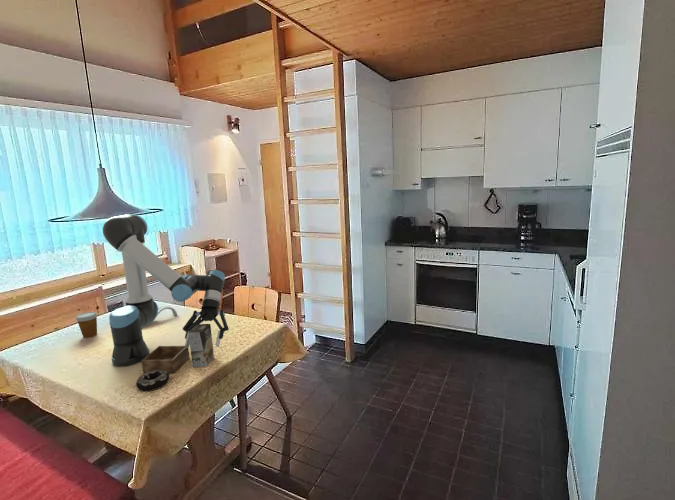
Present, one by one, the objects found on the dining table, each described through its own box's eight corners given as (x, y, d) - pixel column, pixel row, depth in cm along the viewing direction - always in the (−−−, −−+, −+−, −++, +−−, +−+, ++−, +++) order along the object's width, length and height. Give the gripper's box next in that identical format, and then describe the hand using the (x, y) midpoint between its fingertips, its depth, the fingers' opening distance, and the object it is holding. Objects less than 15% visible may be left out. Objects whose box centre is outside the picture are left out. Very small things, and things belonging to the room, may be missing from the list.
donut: (173, 375, 151) (171, 366, 151) (164, 391, 140) (163, 381, 139) (143, 378, 150) (141, 369, 149) (132, 395, 138) (130, 385, 138)
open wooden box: (143, 373, 153) (141, 360, 152) (160, 358, 166) (159, 346, 165) (174, 373, 152) (172, 360, 151) (189, 357, 165) (188, 345, 164)
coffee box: (206, 367, 156) (202, 331, 153) (192, 367, 157) (187, 332, 154) (214, 356, 165) (210, 323, 162) (200, 357, 166) (196, 323, 163)
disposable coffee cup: (75, 339, 193) (70, 317, 190) (90, 331, 202) (87, 311, 199) (89, 340, 190) (85, 318, 188) (105, 332, 199) (101, 311, 197)
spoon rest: (137, 330, 201) (135, 317, 200) (130, 325, 209) (128, 313, 208) (180, 317, 218) (178, 305, 217) (171, 313, 226) (170, 302, 225)
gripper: (240, 304, 173) (232, 348, 161) (189, 305, 174) (177, 349, 163) (235, 297, 166) (227, 342, 155) (182, 298, 168) (170, 343, 156)
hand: (201, 346), depth 159 cm, fingers open, 13 cm apart
